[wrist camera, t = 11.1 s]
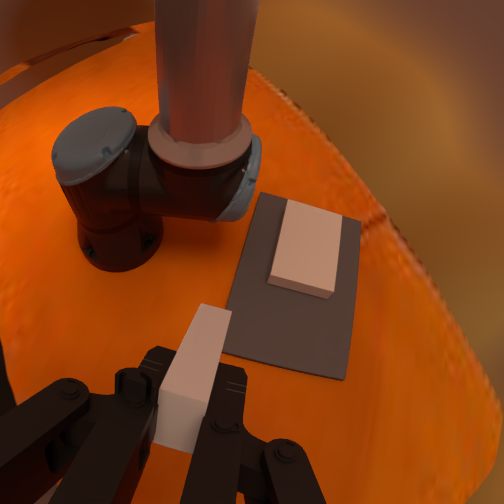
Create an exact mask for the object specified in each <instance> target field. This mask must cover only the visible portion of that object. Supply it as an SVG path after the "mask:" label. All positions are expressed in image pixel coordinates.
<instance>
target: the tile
mask: <svg viewBox="0 0 504 504" xmlns="http://www.w3.org/2000/svg"><path fill="white" fill-rule="evenodd" d="M341 224H342V215H340V214H336V213H333V212H330V211H327V210H323V209H320V208H317V207H313V206H310V205H307V204H303V203H300V202H296V201H293V200H290V199H288V201H287V203H286V206H285V209H284V213H283V218H282V222H281V226H280V230H279V235H278V239H277V243H276V247H275V252H274V256H273V260H272V264H271V268H270V273H269V277H268V281H267V283H269V284H273V285H276V286H280V287H284V288H287V289H291V290H295V291H299V292H302V293H306V294H310V295H314V296H317V297H321V298H325V299H328V298H329V297H330V296H331V295H332V293H333V292H334V288H335V280H336V272H337V263H338V254H339V245H340V235H341Z"/></svg>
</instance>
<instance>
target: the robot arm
mask: <svg viewBox="0 0 504 504" xmlns="http://www.w3.org/2000/svg"><path fill="white" fill-rule="evenodd" d="M259 1H260V0H155V42H156V66H157V84H158V99H159V114H157V115H156V117H155V118H154V119H153V120H152V122H151V124H150V126H144V125H137V122H136V120H135V118H134V117H133V115H132V113H131V112H129V111H127V110H126V109H124V108H121V107H104V108H99V109H96V110H93V111H90V112H88V113H86V114H84V115H82V116H80V117H79V118H78V119H76V120H74V121H73V122H71V123H70V124H69V125H68V126H67V127H66V128H65V129H64V130H63V131H62V132H61V133H60V135H59V136H58V138H57V139H56V141H55V143H54V146H53V149H52V155H51V157H52V163H53V166H54V169H55V172H56V179H57V180H58V182H59V184H60V186H61V188H62V190H63V192H64V194H65V196H66V198H67V200H68V202H69V204H70V206H71V208H72V210H73V212H74V214H75V216H76V218H77V231H78V242H79V245H80V248H81V250H82V252H83V253H84V255H85V257H86V258H87V259H88V261H89V262H90V263H91V264H93V265H94V266H96V267H97V268H99V269H102V270H105V271H109V272H123V271H128V270H131V269H134V268H136V267H138V266H140V265H142V264H143V263H145V262H146V261H147V260H149V259H150V258H151V257H152V256H153V254H154V253H155V252H156V250H157V249H158V247H159V245H160V243H161V240H162V237H163V223H162V217H161V216H168V217H177V218H186V219H195V220H204V221H209V222H217V221H224V222H234V221H237V220H239V219H241V218H242V217H243V216H244V215H245V213H246V212H247V210H248V208H249V205H250V203H251V200H252V197H253V194H254V191H255V182H256V180H257V177H258V174H259V169H260V163H261V153H262V145H261V140H260V138H259V137H258V136H257V135H254V134H252V129H251V125H250V123H249V121H248V119H247V118H246V117H245V116H244V114H242V113H241V112H242V105H243V99H244V92H245V86H246V79H247V73H248V66H249V60H250V54H251V48H252V41H253V36H254V30H255V24H256V18H257V12H258V6H259ZM231 314H232V311H229V310H225V309H221V308H217V307H214V306H210V305H206V304H203V303H201V304H200V306H199V308H198V310H197V312H196V314H195V316H194V318H193V320H192V323H191V325H190V327H189V329H188V331H187V333H186V335H185V337H184V339H183V341H182V343H181V345H180V347H179V349H178V351H174V350H170V349H167V348H164V347H161V346H156V347H154V348H152V349H151V350H149V351H148V352H147V354H146V356H145V357H144V359H143V360H142V362H141V364H140V365H139V367H138V368H124V369H121V370H119V371H118V372H117V373H116V374H115V394H112V395H101V394H94V393H89V390H88V387H87V386H86V385H85V384H84V383H83V382H81V381H79V380H77V379H73V378H62V379H59V380H57V381H55V382H53V383H52V384H50V385H49V386H47V387H46V388H44V389H43V390H41V391H40V392H38V393H37V394H35V395H34V396H32V397H31V398H29V399H27V400H26V401H24V402H23V403H21V404H20V405H18V406H17V407H15V408H14V409H12V410H11V411H9V412H8V413H6V414H5V415H3V416H2V417H0V504H34V503H35V502H36V501H37V500H38V499H39V498H40V497H42V496H43V495H44V494H45V493H46V492H47V491H48V490H49V489H50V488H52V487H53V486H54V485H55V484H56V483H57V482H58V481H59V480H60V479H61V478H62V477H63V479H62V480H61V482H60V484H59V485H58V487H57V489H56V491H55V492H54V494H53V496H52V497H51V499H50V501H49V503H48V504H130V503H131V501H132V498H133V495H134V493H135V490H136V488H137V485H138V482H139V480H140V477H141V475H142V472H143V470H144V467H145V464H146V462H147V459H148V457H149V454H150V445H151V443H152V440H153V438H154V443H156V444H159V445H162V446H166V447H169V448H172V449H176V450H179V451H183V452H187V453H190V454H193V455H192V459H191V463H190V467H189V470H188V474H187V478H186V482H185V485H184V489H183V493H182V496H181V500H180V504H236V496H237V491H238V492H240V493H242V494H244V500H245V504H326V501H325V499H324V496H323V494H322V492H321V489H320V487H319V484H318V482H317V479H316V477H315V474H314V472H313V470H312V467H311V465H310V462H309V460H308V457H307V455H306V453H305V451H304V450H303V448H302V447H301V446H300V445H298V444H297V443H296V442H293V441H291V440H288V439H281V438H280V439H274V440H272V441H270V442H268V443H266V442H264V441H262V440H260V439H258V438H256V437H254V436H252V435H251V434H250V433H249V432H248V431H247V430H246V429H245V427H244V424H243V412H244V404H245V395H246V386H247V378H248V377H247V375H246V373H245V371H244V369H243V368H240V367H236V366H232V365H228V364H224V363H220V362H219V361H220V357H221V353H222V349H223V345H224V341H225V337H226V333H227V329H228V325H229V321H230V317H231Z"/></svg>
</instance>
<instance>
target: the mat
mask: <svg viewBox="0 0 504 504" xmlns="http://www.w3.org/2000/svg"><path fill="white" fill-rule="evenodd" d="M287 201H288V199H285V198H281V197H278V196H274V195H271V194H267V193H263V192H260V195H259V199H258V202H257V205H256V209H255V212H254V215H253V219H252V222H251V225H250V229H249V232H248V235H247V239H246V242H245V245H244V249H243V252H242V256H241V259H240V262H239V266H238V269H237V272H236V276H235V279H234V283H233V286H232V289H231V293H230V296H229V300H228V303H227V306H226V310H229V311H232V314H231V317H230V321H229V325H228V329H227V333H226V337H225V341H224V345H223V349H222V353H225V354H229V355H233V356H236V357H240V358H244V359H248V360H252V361H255V362H259V363H263V364H268V365H272V366H276V367H280V368H284V369H289V370H293V371H298V372H302V373H307V374H312V375H316V376H321V377H326V378H331V379H337V380H342V381H343V380H345V377H346V370H347V364H348V357H349V350H350V343H351V335H352V327H353V318H354V309H355V300H356V290H357V278H358V266H359V252H360V235H361V221H357V220H354V219H351V218H348V217H345V216H342V224H341V235H340V245H339V254H338V263H337V272H336V280H335V288H334V292H333V293H332V295H331V296H330V297H329V298H328V299H325V298H321V297H317V296H314V295H310V294H306V293H302V292H299V291H295V290H291V289H287V288H284V287H280V286H276V285H273V284H269V283H267V281H268V277H269V273H270V268H271V264H272V260H273V256H274V252H275V247H276V243H277V239H278V235H279V230H280V226H281V222H282V218H283V213H284V209H285V206H286V203H287Z"/></svg>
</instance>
